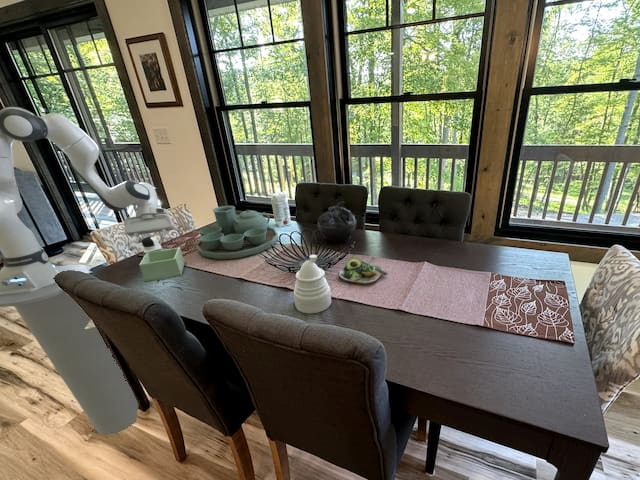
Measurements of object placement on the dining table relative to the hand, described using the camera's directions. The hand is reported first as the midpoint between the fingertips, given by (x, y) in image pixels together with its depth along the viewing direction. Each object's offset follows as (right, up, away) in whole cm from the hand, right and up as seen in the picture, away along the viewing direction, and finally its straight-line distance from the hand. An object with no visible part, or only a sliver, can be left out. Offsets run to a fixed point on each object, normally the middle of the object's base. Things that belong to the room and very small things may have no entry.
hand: (151, 240), depth 147 cm
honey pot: (+82, -26, -35) cm, 93 cm away
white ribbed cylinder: (+52, +14, +43) cm, 69 cm away
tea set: (+35, 0, +17) cm, 39 cm away
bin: (+12, -15, -8) cm, 20 cm away
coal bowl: (+87, +2, +18) cm, 89 cm away
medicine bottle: (+1, -10, +2) cm, 10 cm away
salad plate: (+99, -16, -17) cm, 101 cm away
